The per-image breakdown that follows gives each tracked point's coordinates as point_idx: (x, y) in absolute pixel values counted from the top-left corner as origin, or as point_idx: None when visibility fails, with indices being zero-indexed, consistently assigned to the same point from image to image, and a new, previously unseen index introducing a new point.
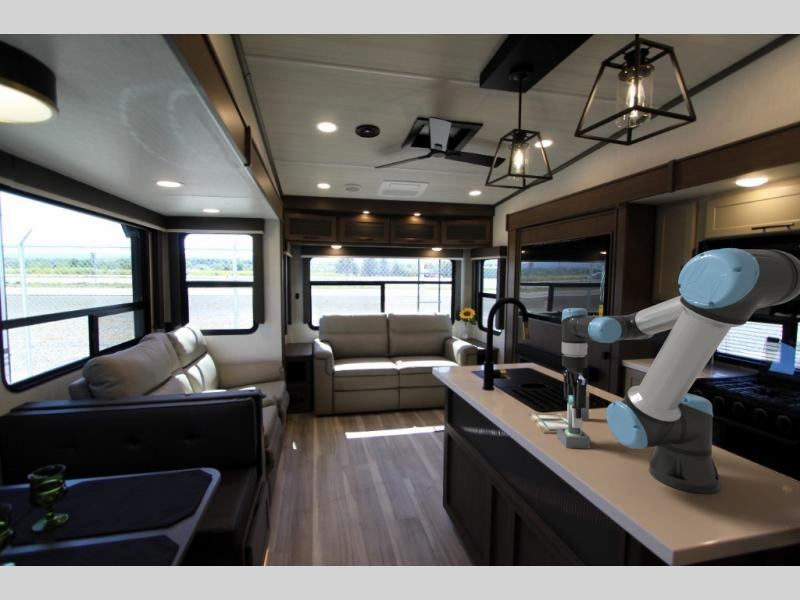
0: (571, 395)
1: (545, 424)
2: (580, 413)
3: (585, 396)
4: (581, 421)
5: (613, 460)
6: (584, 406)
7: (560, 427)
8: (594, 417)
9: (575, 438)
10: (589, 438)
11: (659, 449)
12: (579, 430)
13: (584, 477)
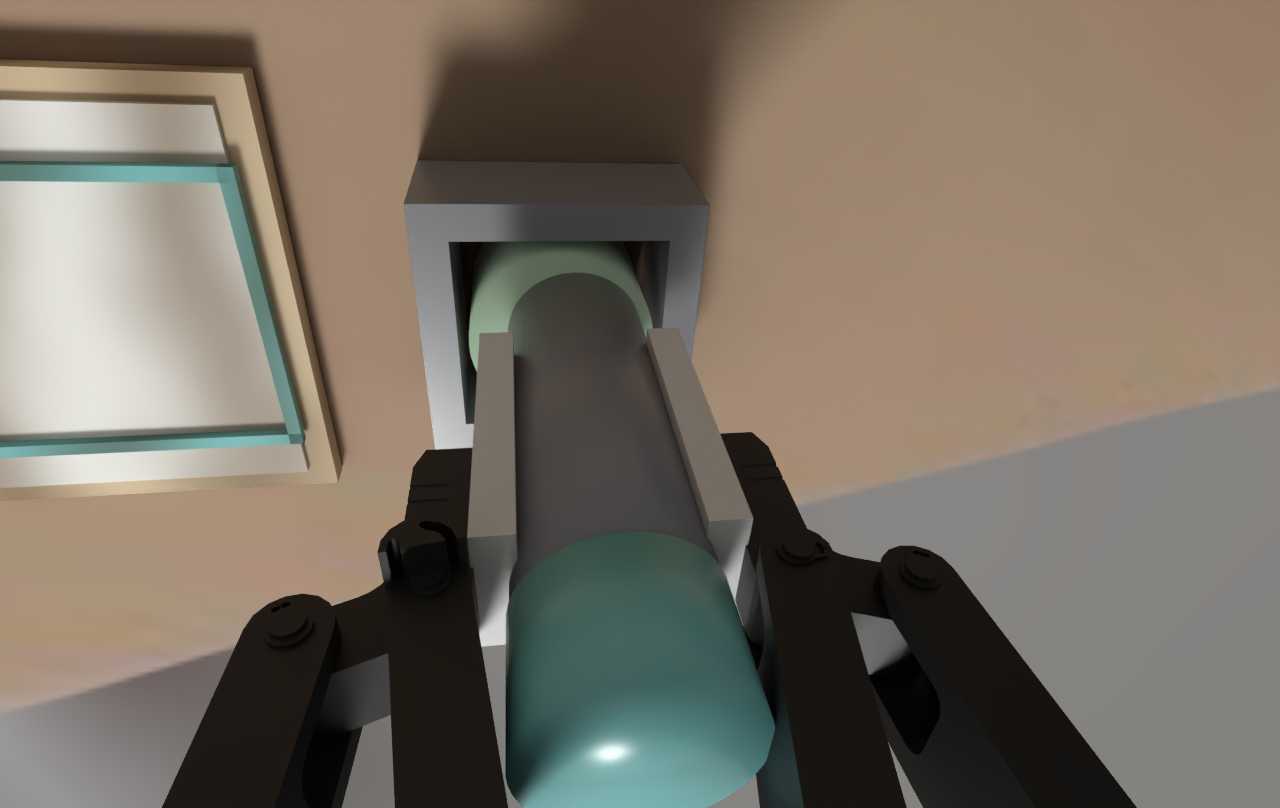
0: (564, 791)
1: (147, 446)
2: (784, 499)
3: (1115, 794)
4: (695, 379)
5: (964, 57)
6: (953, 594)
7: (173, 304)
8: None
9: (688, 352)
10: (704, 205)
11: None
12: (636, 319)
13: (1087, 410)
